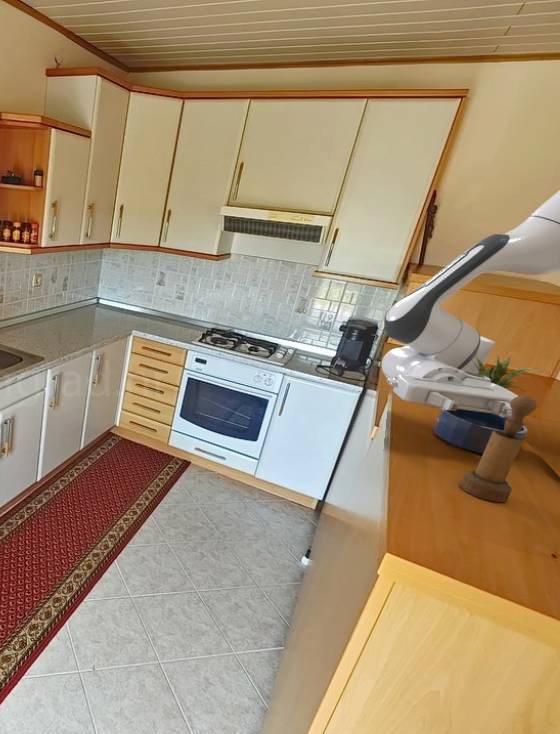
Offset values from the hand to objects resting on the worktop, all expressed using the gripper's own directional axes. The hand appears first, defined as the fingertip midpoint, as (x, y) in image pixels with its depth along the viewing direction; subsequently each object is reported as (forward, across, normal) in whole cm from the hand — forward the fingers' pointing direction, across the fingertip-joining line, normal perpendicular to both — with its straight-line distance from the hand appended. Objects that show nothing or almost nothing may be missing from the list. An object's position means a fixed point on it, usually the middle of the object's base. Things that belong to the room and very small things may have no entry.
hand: (481, 410), depth 87 cm
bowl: (-16, +13, +12) cm, 24 cm away
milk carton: (-47, +25, +13) cm, 55 cm away
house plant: (-34, +26, +13) cm, 45 cm away
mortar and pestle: (+7, 0, +13) cm, 15 cm away
